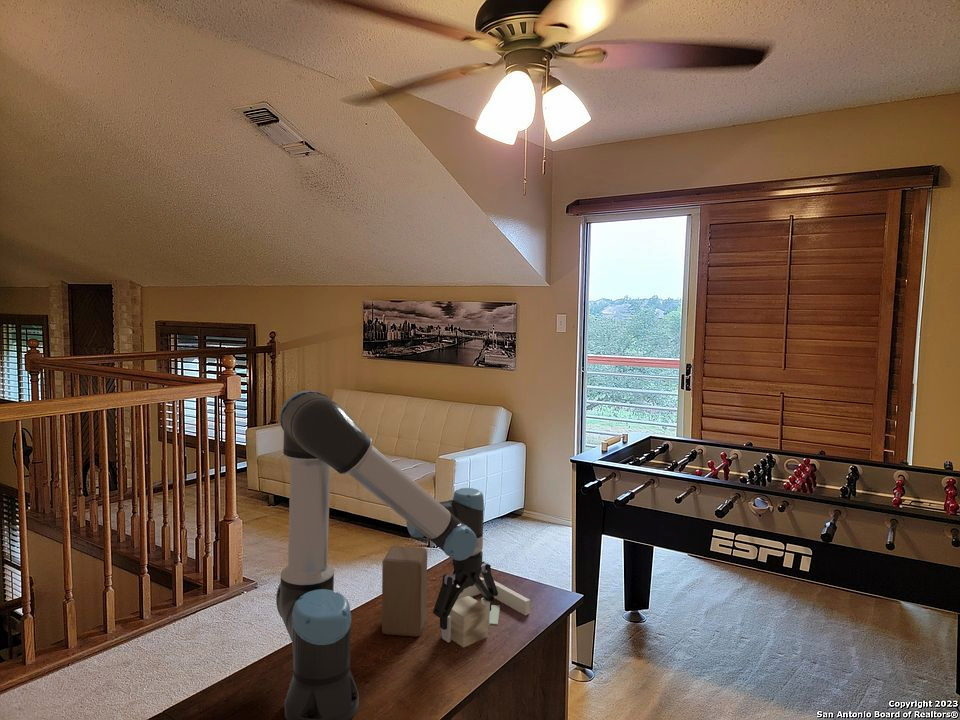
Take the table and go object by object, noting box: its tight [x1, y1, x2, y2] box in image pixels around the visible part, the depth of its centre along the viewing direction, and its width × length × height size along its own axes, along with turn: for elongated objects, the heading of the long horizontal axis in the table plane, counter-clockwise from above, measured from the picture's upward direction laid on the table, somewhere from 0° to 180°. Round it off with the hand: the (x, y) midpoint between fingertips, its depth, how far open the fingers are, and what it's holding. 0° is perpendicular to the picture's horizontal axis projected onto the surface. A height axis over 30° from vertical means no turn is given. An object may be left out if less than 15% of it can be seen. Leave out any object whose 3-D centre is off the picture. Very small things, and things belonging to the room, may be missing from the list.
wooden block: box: [381, 545, 428, 637], centre depth 171 cm, size 10×10×20 cm
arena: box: [456, 576, 531, 626], centre depth 182 cm, size 18×19×4 cm
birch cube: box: [449, 596, 489, 648], centre depth 169 cm, size 8×8×8 cm
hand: (465, 631), depth 169 cm, fingers open, 12 cm apart
